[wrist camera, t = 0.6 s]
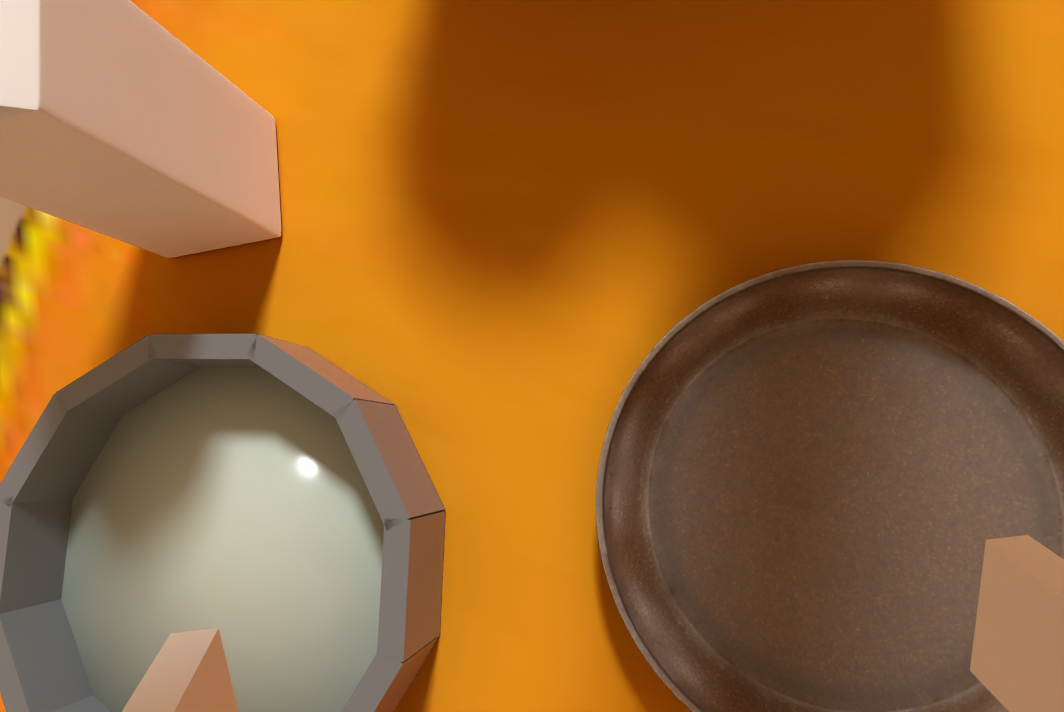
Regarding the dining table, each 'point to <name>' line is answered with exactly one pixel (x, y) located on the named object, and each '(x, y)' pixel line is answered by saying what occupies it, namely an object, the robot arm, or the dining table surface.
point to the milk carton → (130, 130)
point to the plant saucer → (829, 487)
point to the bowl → (218, 531)
